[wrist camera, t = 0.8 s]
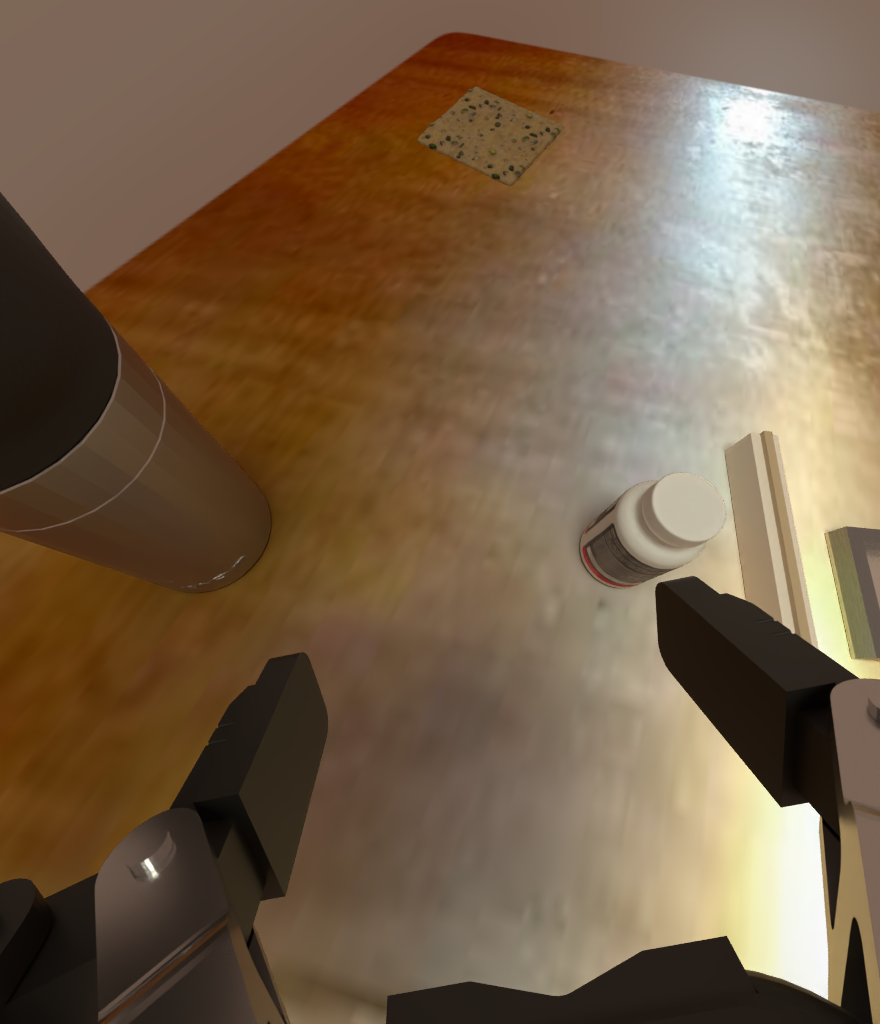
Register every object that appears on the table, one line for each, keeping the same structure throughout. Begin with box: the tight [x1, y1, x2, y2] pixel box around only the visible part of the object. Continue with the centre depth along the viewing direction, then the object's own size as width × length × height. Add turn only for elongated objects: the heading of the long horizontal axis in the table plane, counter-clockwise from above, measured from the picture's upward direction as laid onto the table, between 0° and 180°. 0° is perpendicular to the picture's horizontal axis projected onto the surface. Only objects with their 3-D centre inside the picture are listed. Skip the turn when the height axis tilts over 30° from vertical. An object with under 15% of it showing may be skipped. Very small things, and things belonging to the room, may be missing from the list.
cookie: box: [417, 87, 564, 186], centre depth 48 cm, size 12×12×1 cm
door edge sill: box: [725, 431, 819, 650], centre depth 31 cm, size 20×2×3 cm, turn 175°
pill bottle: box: [580, 472, 726, 588], centre depth 28 cm, size 5×5×10 cm
